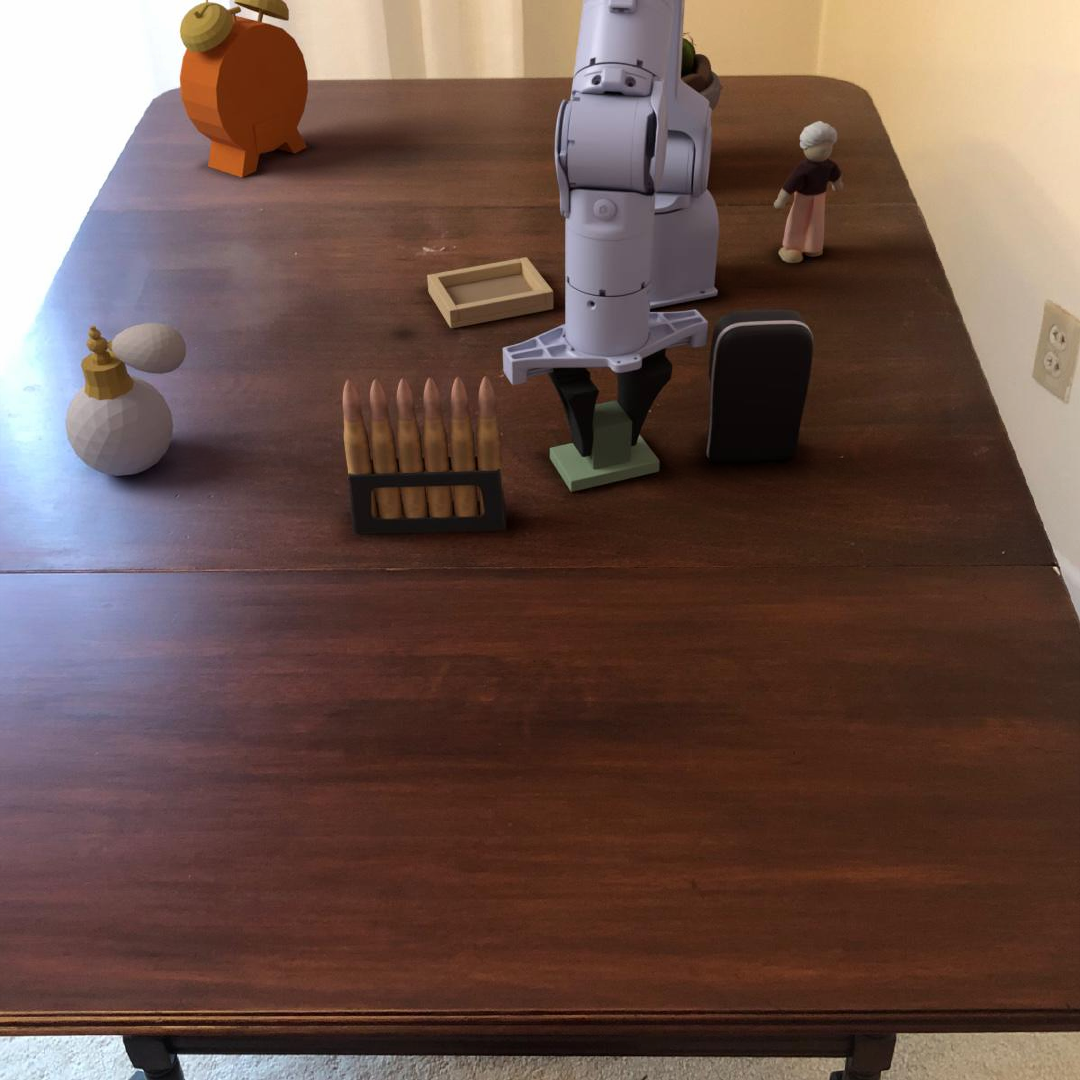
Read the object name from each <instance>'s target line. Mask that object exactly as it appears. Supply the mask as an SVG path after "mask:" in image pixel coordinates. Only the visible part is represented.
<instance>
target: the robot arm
mask: <svg viewBox="0 0 1080 1080" xmlns="http://www.w3.org/2000/svg"><path fill="white" fill-rule="evenodd" d="M685 1H686V0H582V6H581V14H580V22H579V31H578V39H577V45H576V46H577V47H576V54H575V62H574V69H573V78H572V85H571V92H570V100H567V99H562V101H561V102H560V106H559V109H558V114H557V118H556V126H555V135H554V162H555V163H554V164H555V170H556V171H555V172H556V179H557V184H558V189H559V208H560V209H559V211H560V215H561V216H563V217H564V218H565V221H564V224H565V227H564V230H565V232H564V233H565V235H564V238H565V239H564V241H565V243H564V244H565V245H564V247H565V248H564V253H565V257H564V258H565V261H564V264H565V265H564V269H565V271H564V276H565V277H564V279H565V284H564V285H565V286H564V287H565V288H564V289H565V290H564V291H565V292H564V293H565V294H564V295H565V298H564V299H565V302H564V304H565V305H564V307H565V310H564V311H565V312H564V313H565V315H564V316H565V317H564V320H565V321H564V322H565V323H563V324H561V325H559V326H558V327H554V328H552V329H550V330H548V331H546V332H543V333H541V334H538V335H536V336H535V337H532V338H529V339H527V340H525V341H522V342H520V343H519V342H518V343H516V344H513V345H508V346H504V347H502V365H503V366H502V367H503V369H502V370H503V373H504V375H505V376H506V378H507V379H508V381H509V382H510V384H511V385H512V386H517V385H523V384H526V383H527V381H528V378H530V377H536V376H540V375H545V374H547V375H548V377H549V379H550V380H551V383H552V384H553V386H554V389H555V391H556V393H557V395H558V397H559V399H560V402H561V404H562V407H563V411H564V412H565V414H566V419H567V421H568V426H569V429H570V434H571V440H572V443H573V444H574V446H575V447H576V449H577V450H578V452H579V453H580V455H581V456H582V457H587V456H591V451H592V444H593V415H594V409H595V405H597V400H598V396H599V393H600V390H599V389H598V388H597V386H596V385H595V382H593V381H592V379H591V371H589V370H588V369H587V368H610V370H611V371H612V372H614V373H616V380H617V399H616V401H617V402H618V403H619V405H620V406H621V407H622V409H623V410H624V411H625V413H626V414H627V415H628V417H629V418H630V419H631V421H632V440H631V446H635V445H636V444H637V440H638V437H639V434H640V435H641V431H642V428H643V426H644V424H645V420H646V418H647V416H648V414H649V411H650V409H651V407H652V406H653V404H654V402H655V400H656V399H657V397H658V396H659V394H660V393H661V391H662V390H663V389H664V387H666V385H667V383H669V381H670V380H671V379H672V375H673V363H672V362H671V361H670V359H669V358H668V357H667V356H666V353H667V349H671V348H676V347H680V346H685V345H689V346H690V347H691V348H694V349H695V348H702V347H706V346H707V342H708V329H709V321H708V320H707V319H706V317H704V316H703V315H702V314H701V312H699V311H698V310H697V309H690V310H682V311H681V310H680V311H651V309H656V308H662V307H667V306H672V305H677V304H683V303H689V302H692V301H697V300H702V299H703V300H704V299H708V298H712V297H716V296H718V289H717V287H715V283H716V282H715V281H716V271H717V256H718V246H719V234H720V220H719V219H720V218H719V213H718V208H717V204H716V202H715V199H714V197H713V195H712V194H711V192H710V191H709V190H708V189H707V188H708V181H709V173H710V164H711V153H712V139H713V138H712V137H713V128H712V112H713V110H712V109H711V108H710V107H709V101H708V100H707V99H706V98H705V97H704V96H702V95H701V94H700V93H698V92H697V91H695V90H694V89H692V88H691V87H690V86H688V85H687V84H686V83H684V82H683V81H682V80H681V62H682V43H683V38H684V36H683V35H684V34H683V33H684V24H685V22H684V21H685V5H686V4H685V3H686V2H685Z"/></svg>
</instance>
